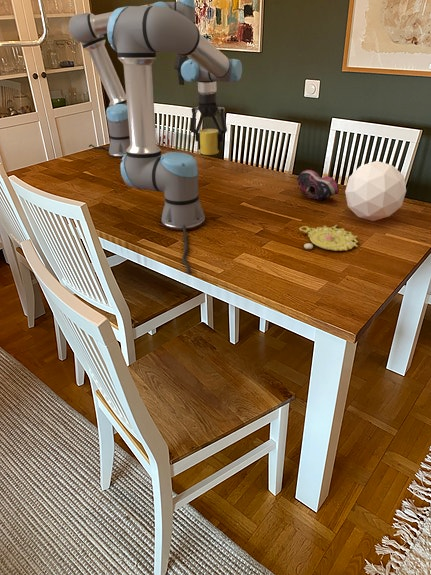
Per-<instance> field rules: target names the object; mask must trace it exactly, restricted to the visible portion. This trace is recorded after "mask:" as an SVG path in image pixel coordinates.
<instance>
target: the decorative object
mask: <svg viewBox="0 0 431 575" xmlns="http://www.w3.org/2000/svg"><path fill="white" fill-rule="evenodd" d="M303 228H304V229H305V230H304V229H303ZM299 231H300V232H303V233H305V234H307V237H308V238H309V240H310V241H311V243H304V244H303V248H304V249H305V250H313V249H314V245H315V246H316V247H318V248H321V249H324V250H328V251H335V252H341V251H348V250H352V249H354V247H356V248H358V247H359V245H358V244H357V243H359V240H357V238H359V237H358V235H353V234H352V231H347V230H346V229H345V228H344V227H342V228H338V224H335V225H333V226H331V227H328V226H327V225H326V224H325V225H323V226H322V227H321V226H317V227H316V228H314V227H309V226H308V225H302V226H300V227H299ZM313 244H314V245H313Z"/></svg>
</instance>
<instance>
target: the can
mask: <svg viewBox="0 0 431 575" xmlns="http://www.w3.org/2000/svg"><path fill="white" fill-rule="evenodd" d="M199 133H200V150H199V152H200V154H201V155H204V156H212V155H217V154H219V153H220V150H218V133H219V131H218V129H217V128H204V129H200V130H199Z"/></svg>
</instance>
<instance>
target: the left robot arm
mask: <svg viewBox="0 0 431 575" xmlns="http://www.w3.org/2000/svg"><path fill="white" fill-rule="evenodd" d="M142 6H164V7H167V8H170V9H173V10H175V11H177V12H178V13H180V14H182V15H184V16H185V17H186V18H188V19H189V20H190V21H192V22H193V23H194V24H195V25H196V21H197V20H196V4H195V0H177V1H161V0H160V1H155V2H154V3H149V4H144V5H143V4H142ZM112 13H113V11H110V12H106V13H105V12H104V13H100V14H94V13H88V12H85V13H77V14H74V15H72V16H71V18H70V19H69V22H68V30H69V34H70V36H71V37H72V38H73V39H74V41H76V42H78V43H80V44H81V47H82V48H83V50H84V51H86V52H87V53H88V54H89V56H90V59H91V62H92V63H93V65H94V68H95V70H96V73H97V75H98V77H99V79H100V81H101V83H102V85H103V88H104V90H105V92H106V95H107V97H108V99H109V104H108V107H107V108H106V111H105V112H106V115H105V116H106V119H107V128H108V132H109V140H110V141H109V148H107V147H106V146H95V145H93V144H89V145H88V148H91V147H92V148H93V149H105V150H106V151H108V156H109V157H111V158H115V159H122V158H123V156H124V155H125V154H126V149H127V148H128V147H129V146H130V135H129V123H128V111H127V99H126V91H125V90H124V88H123V86H122V83H121V81H120V77H119V76H118V74H117V71H116V69H115V66H114V64H113V62H112V59H111V58H110V55H109V53H108V50H107V48H106V46H105V44H106V38H105V34H107V26H108V21H109V18H110V16H111V15H112ZM196 26H197V25H196ZM188 59H189V57H187V56H181V55H178V54H177V53H176V57H175V61H174V66H173V69H174V70H176V71H177V78H178V85H179V86H185V80H184V78H183V77H182V75H181V66H182V64H183V63H184V62H185V61H187V60H188Z"/></svg>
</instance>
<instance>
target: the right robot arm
mask: <svg viewBox="0 0 431 575" xmlns="http://www.w3.org/2000/svg"><path fill="white" fill-rule="evenodd" d="M112 12H113V13H112V15H111V16H110V18H109V21H108V26H107V33H106V34H107V40H108V43H109V44H110V48H112V49H113V51H115V52H117V59H118V60H119V61H120V63H121V64H122V66H123V74H124V85H125V94H126V99H127V111H128V123H129V135H130V146H129V147H128V148H127V149H126V154H125V155H124V156H123V158H121V162H120V165H119V166H120V174H121V177H122V179H123V181H124V183H125V184H126V185H127V186H129V187H130V188H134V189H137V190H145V191H151V192H159V193H163V195H164V204H163V209H162V213H161V219H160V220H161V225H162V227H163V228H165V229H167V230H170V231H175V232H176V231H177V232H183V242H184V251H183V255H182V263H183V264H184V266H185V267H186V270H187V274H188V275H191V274H192V270H191V266H190V264H189V263H188V262H187V259H186V257H187V253H188V248H189V246H188V244H189V243H188V237H187V236H188V235H187V231H192V230H195V229H198V228H201V227H202V226H203V225H204V224H205V223H206V216H205V212H204V210H203V208H202V204H201V202H200V196H199V175H198V174H199V170H198V164H197V163H198V162H197V160H196V159H195V157H194V156H192V155H191V154H188V153H185V152H181V151H175V152H174V151H168V152H164V153H163V154H162V149H161V147H160V146H159V145H158V144H157V136H156V119H155V118H156V117H155V98H154V84H153V83H154V82H153V81H154V80H153V66H152V65H153V63H154V62H155V61H156V60H157V53H161V52H162V53H164V52H165V53H175V54H176V55H177V54H178V55H181V56H187V57H188V59H186V61H185V62H184V63H183V64H182V66H181V75H182V77H183V78H184V81H186V82H188V83H195V82H197V92H198V94H197V95H198V106H196V107H195V106H192V107H191V114H192V115H191V122H190V123H191V124H190V132H191V133H193V134H194V137H195V142H197V150H198V151H200V130H201V127H202V124H203V122H204V119H205V118H212V120H213V122H214V125H215V127H216V129H217V130H218V150H219V151H220V150H221V149H222V142H223V141H224V134H226V133H227V132H228V127H227V122H226V116H225V110H226V109H225V107H224V106H222V107H220V106H219V105H218V94H217V91H218V90H217V89H218V88H217V82H218V83H219V82H221V83H237V82H240V80H241V78H242V74H243V64H242V62H241V60H240V59H236V58H228V57H227V56H226V55H225V54H224V53H223V52H221V50H220V49H219V48H217V47H216V46H215V45H214V44H212V43H211V42H210V41H209V40H208V39H207V38H205V37H204V36H203V35H202V34H201V32H200V29H199V27H198V26H197V25H195V24H194V23H193V22H192V21H190V20H189V19H188V18H186V17H185V16H184V15H182V14H180V13H178V12H177V11H175V10H173V9H170V8H167V7H164V6H143V5H139V6H138V5H127V6H122V7H118V8H115V9H114V10H113V11H112ZM198 112H199V113H200V117H199V120H198V123H197V124H196V121H197V113H198ZM217 112H218V113H219V114H220V121H221V123H220V121H219V118H218V116H217V114H216V113H217Z"/></svg>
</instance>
